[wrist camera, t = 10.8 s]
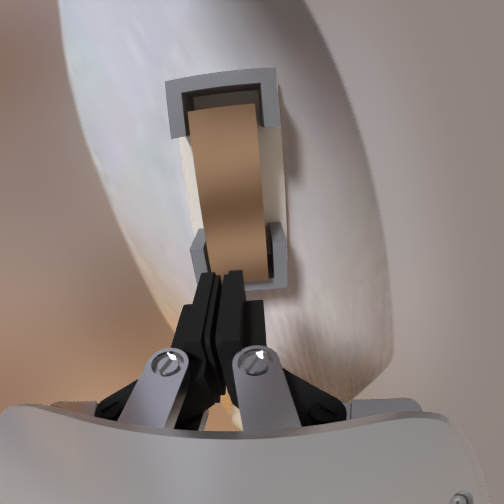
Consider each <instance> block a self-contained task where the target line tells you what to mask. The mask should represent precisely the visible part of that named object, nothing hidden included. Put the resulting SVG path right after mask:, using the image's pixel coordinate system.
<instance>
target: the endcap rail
mask: <svg viewBox="0 0 504 504" xmlns="http://www.w3.org/2000/svg"><path fill="white" fill-rule="evenodd" d="M165 87H166V98H167V107H168V116H169V125H170V133H171V139H173V138H179V142H180V150H181V157H182V164H183V171H184V178H185V184H186V191H187V197H188V203H189V209H190V215H191V221H192V226H193V232H194V237H195V238H194V241H193V243H192V245H191V248H190V253H191V258H192V263H193V267H194V272H195V277H196V281H197V286H198V282H199V279H200V275H201V273H205V272H211V267H210V262H209V256H208V250H207V245H206V239H205V233H204V227H203V221H202V215H201V208H200V202H199V195H198V188H197V182H196V175H195V167H194V160H193V152H192V145H191V137H190V128H189V120H188V112H189V111H196V110H202V109H209V108H216V107H224V106H234V105H244V104H255V111H256V122H257V133H258V145H259V157H260V169H261V181H262V194H263V207H264V221H265V234H266V248H267V263H268V278H269V280H260V281H247V282H244V286H245V291H256V290H268V289H280V288H288V274H287V262H288V253H287V223H286V200H285V180H284V162H283V147H282V132H281V119H280V106H279V94H278V83H277V77H276V69H275V68H259V69H245V70H234V71H225V72H217V73H210V74H203V75H197V76H191V77H185V78H180V79H175V80H170V81H166V82H165ZM222 284H223V283H222Z"/></svg>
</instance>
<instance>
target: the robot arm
mask: <svg viewBox="0 0 504 504" xmlns="http://www.w3.org/2000/svg"><path fill="white" fill-rule="evenodd" d="M226 386H227V390H228V393H229V395H230V398H231V401H232V404H233V405H234V406H236V407H237V408H238V409H239V410H240V416H241V422H242V427H243V431H235V432H234V431H233V432H232V431H231V432H230V431H227V432H225V431H217V432H216V431H204V428H205V425H206V422H207V418H208V413H209V410H208V408H210V407H211V406H212V405H214V404H215V403H220V396H221V395H225V392H226ZM0 504H490V500H489V496H488V492H487V489H486V485H485V481H484V478H483V475H482V472H481V470H480V467H479V464H478V462H477V459H476V457H475V454H474V452H473V450H472V448H471V446H470V444H469V442H468V440H467V439H466V437H465V435H464V433H463V432H462V430H461V429H460V428H459V426H458V425H457V424H456V423H455V422H454V421H453V420H452V419H450V418H449V417H447V416H445V415H441V414H438V413H433V412H423V411H422V409H421V406H420V405H419V404H418V403H417V402H416V401H415V400H412V399H410V398H394V399H373V400H352V401H351V402H341V401H340V400H338V399H337V398H335V397H333V396H331V395H329V394H328V393H326V392H324V391H322V390H320V389H318V388H317V387H315V386H313V385H311V384H309V383H308V382H306V381H304V380H302V379H301V378H299V377H297V376H295V375H294V374H292V373H290V372H288V371H287V370H285V369H283V368H282V366H281V363H280V360H279V357H278V355H277V353H276V352H275V351H273V350H272V349H271V348H268V347H267V344H266V331H265V318H264V305H263V300H253V301H246V294H245V286H244V278H243V271H242V270H232V271H229V272H228V274H226V275H224V277H223V284H222V281H221V276H220V275H216V273H215V272H205V273H201V275H200V279H199V282H198V286H197V290H196V293H195V297H194V300H193V304H187V305H184V306H183V308H182V312H181V315H180V318H179V322H178V325H177V328H176V332H175V335H174V339H173V342H172V345H171V348H167V349H163V350H160V351H158V352H156V353H155V354H153V355H152V356H151V358H150V359H149V360H148V362H147V364H146V366H145V368H144V370H143V372H142V374H141V376H140V377H139V379H138V380H136V381H134V382H133V383H131V384H129V385H128V386H126V387H124V388H122V389H121V390H119V391H117V392H116V393H114V394H112V395H111V396H109V397H107V398H105V399H104V400H102V401H101V402H100V403H99V404H98V403H97V402H96V401H78V402H63V401H59V402H54V403H53V404H51V405H50V406H48V405H42V404H29V403H28V404H17V405H13V406H10V407H8V408H6V409H5V410H4V411H3V412H2V413H1V415H0Z"/></svg>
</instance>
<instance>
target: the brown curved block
mask: <svg viewBox="0 0 504 504" xmlns="http://www.w3.org/2000/svg"><path fill="white" fill-rule="evenodd" d="M188 120H189V128H190V137H191V145H192V152H193V160H194V167H195V175H196V182H197V188H198V195H199V202H200V208H201V215H202V221H203V227H204V233H205V239H206V245H207V250H208V256H209V262H210V267H211V272H215V273H216V275H220V276H221V281H222V283H223V277H224V275H226V274H228V272H229V271H232V270H242V271H243V278H244V282H247V281H260V280H269V278H268V263H267V248H266V234H265V221H264V207H263V194H262V181H261V169H260V157H259V145H258V133H257V122H256V111H255V104H244V105H234V106H224V107H216V108H209V109H202V110H196V111H189V112H188Z"/></svg>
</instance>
